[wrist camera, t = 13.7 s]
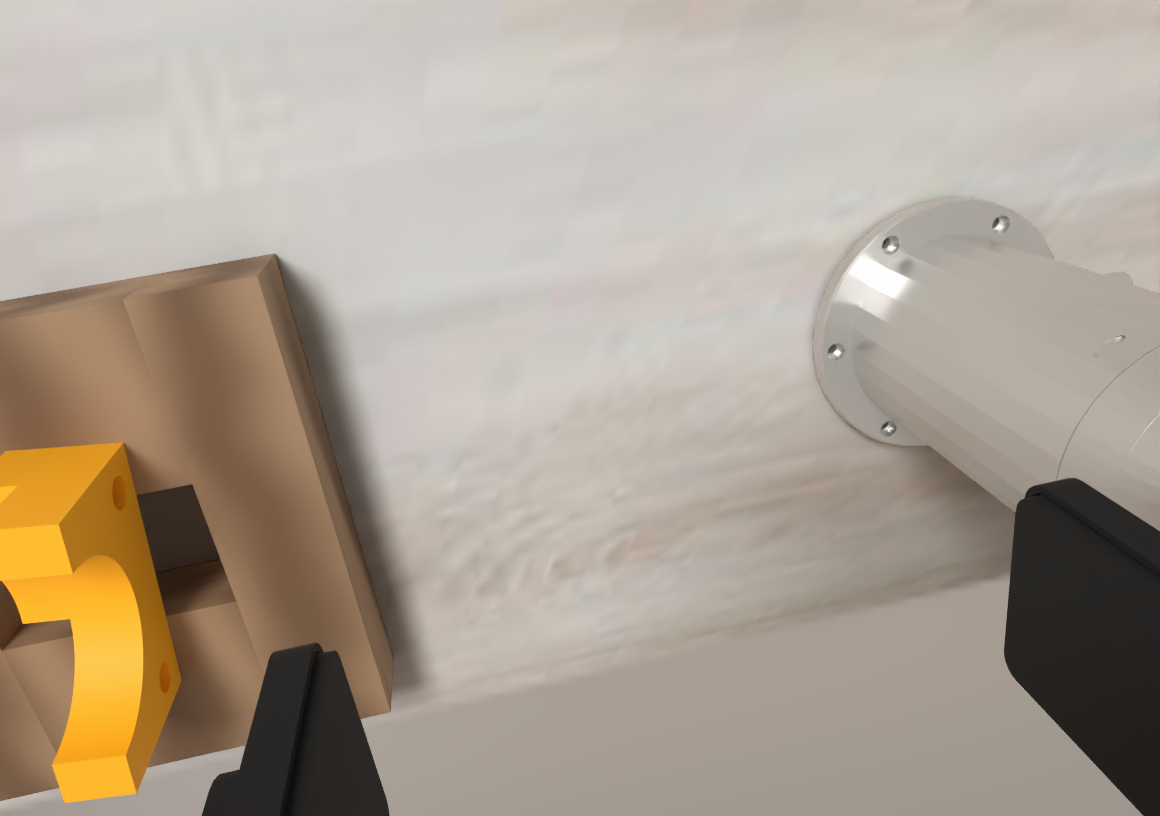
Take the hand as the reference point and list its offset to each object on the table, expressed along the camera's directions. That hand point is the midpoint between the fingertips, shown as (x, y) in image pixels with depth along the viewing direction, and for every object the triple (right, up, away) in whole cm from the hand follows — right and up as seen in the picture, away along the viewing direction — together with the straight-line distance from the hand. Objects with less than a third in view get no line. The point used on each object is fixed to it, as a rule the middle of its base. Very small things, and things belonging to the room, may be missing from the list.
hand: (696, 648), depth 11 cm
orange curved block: (-22, -4, +25) cm, 33 cm away
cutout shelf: (-23, -2, +28) cm, 36 cm away
